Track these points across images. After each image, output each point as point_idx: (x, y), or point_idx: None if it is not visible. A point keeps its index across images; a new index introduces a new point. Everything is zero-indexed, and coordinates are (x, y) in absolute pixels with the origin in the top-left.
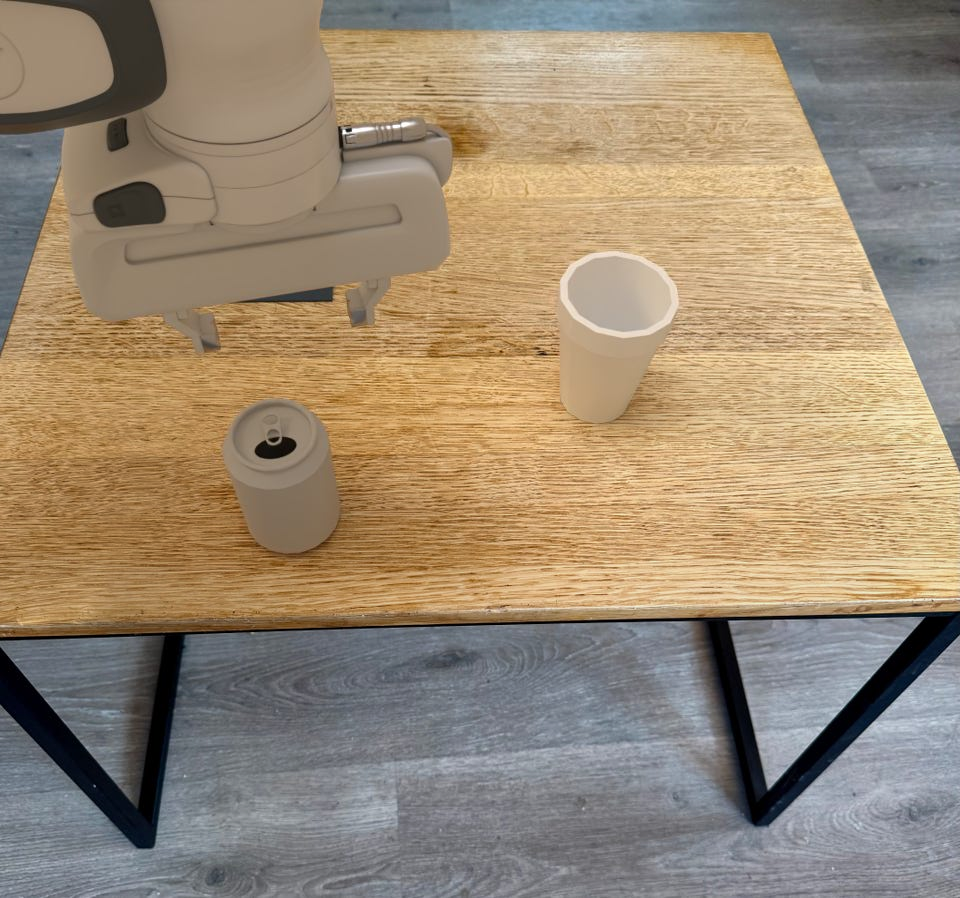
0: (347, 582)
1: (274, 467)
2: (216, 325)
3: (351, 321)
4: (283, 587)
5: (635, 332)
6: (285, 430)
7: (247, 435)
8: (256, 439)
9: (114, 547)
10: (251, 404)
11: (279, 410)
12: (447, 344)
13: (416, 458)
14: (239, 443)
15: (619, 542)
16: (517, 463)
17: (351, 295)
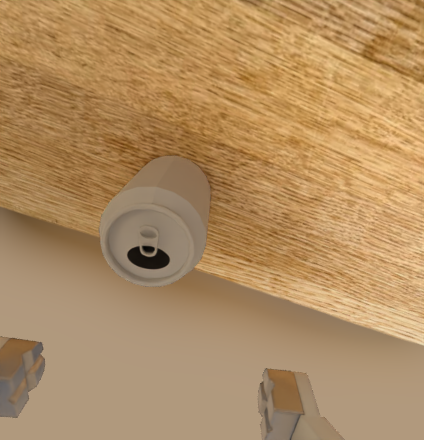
0: None
1: (141, 284)
2: (30, 352)
3: (260, 410)
4: None
5: None
6: (162, 243)
7: (122, 235)
8: (131, 242)
9: (33, 163)
10: (131, 206)
11: (162, 216)
12: (390, 44)
13: (287, 174)
14: (113, 241)
15: (383, 291)
16: (361, 209)
17: (280, 421)
